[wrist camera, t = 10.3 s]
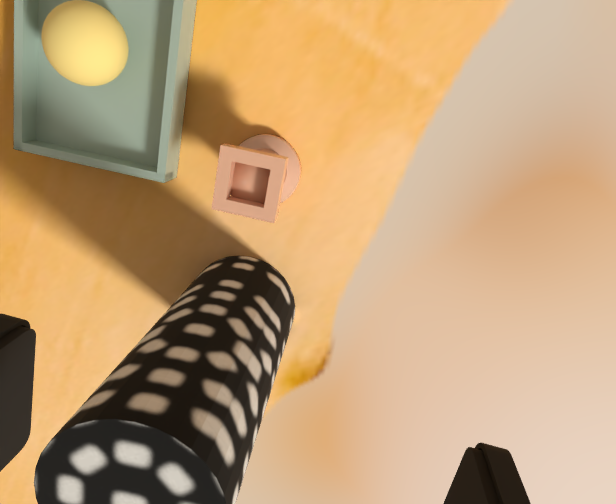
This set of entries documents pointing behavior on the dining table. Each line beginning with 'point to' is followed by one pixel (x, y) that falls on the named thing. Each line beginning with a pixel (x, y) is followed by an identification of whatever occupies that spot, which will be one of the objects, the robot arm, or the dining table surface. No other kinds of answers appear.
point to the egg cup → (256, 177)
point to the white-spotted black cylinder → (179, 399)
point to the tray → (108, 92)
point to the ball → (84, 43)
